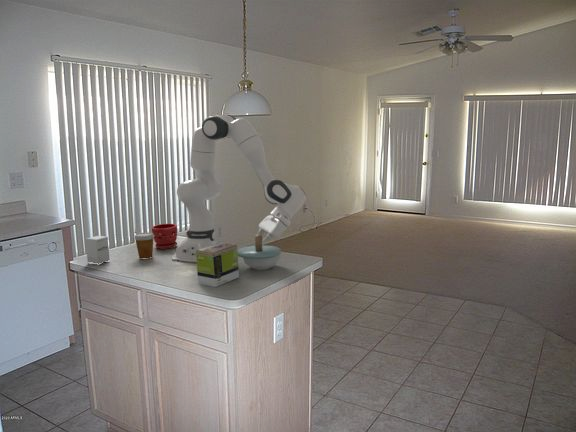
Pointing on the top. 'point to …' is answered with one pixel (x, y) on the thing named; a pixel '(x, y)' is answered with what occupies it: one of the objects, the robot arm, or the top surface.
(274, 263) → the cereal bowl
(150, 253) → the glass of beer
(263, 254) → the cover
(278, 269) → the top surface
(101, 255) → the supplement box
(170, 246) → the plant pot
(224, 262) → the tea box
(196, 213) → the robot arm
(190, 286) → the top surface
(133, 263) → the top surface
